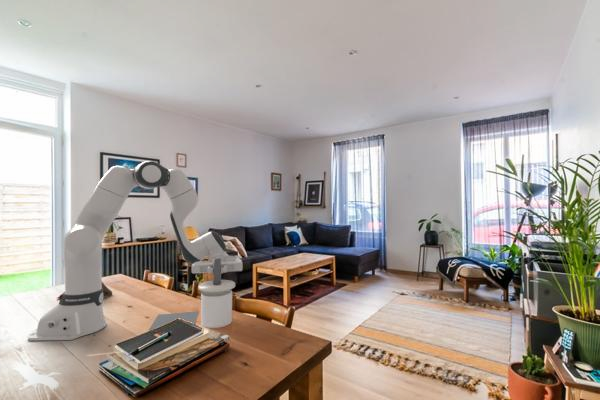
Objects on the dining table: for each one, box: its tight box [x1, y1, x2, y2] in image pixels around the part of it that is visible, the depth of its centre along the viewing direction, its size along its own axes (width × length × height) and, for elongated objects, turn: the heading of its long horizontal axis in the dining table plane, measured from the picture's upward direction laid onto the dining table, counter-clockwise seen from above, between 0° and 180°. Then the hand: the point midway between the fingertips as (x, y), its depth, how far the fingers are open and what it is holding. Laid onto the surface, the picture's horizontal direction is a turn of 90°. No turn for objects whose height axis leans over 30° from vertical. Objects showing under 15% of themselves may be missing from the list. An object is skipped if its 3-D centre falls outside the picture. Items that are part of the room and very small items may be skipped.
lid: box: [197, 258, 236, 292], centre depth 117 cm, size 14×14×11 cm
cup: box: [200, 289, 233, 329], centre depth 117 cm, size 12×12×12 cm
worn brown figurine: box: [102, 281, 113, 299], centre depth 146 cm, size 12×6×18 cm, turn 153°
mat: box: [147, 310, 199, 332], centre depth 118 cm, size 16×16×1 cm
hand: (217, 270), depth 116 cm, fingers closed on lid, 3 cm apart
